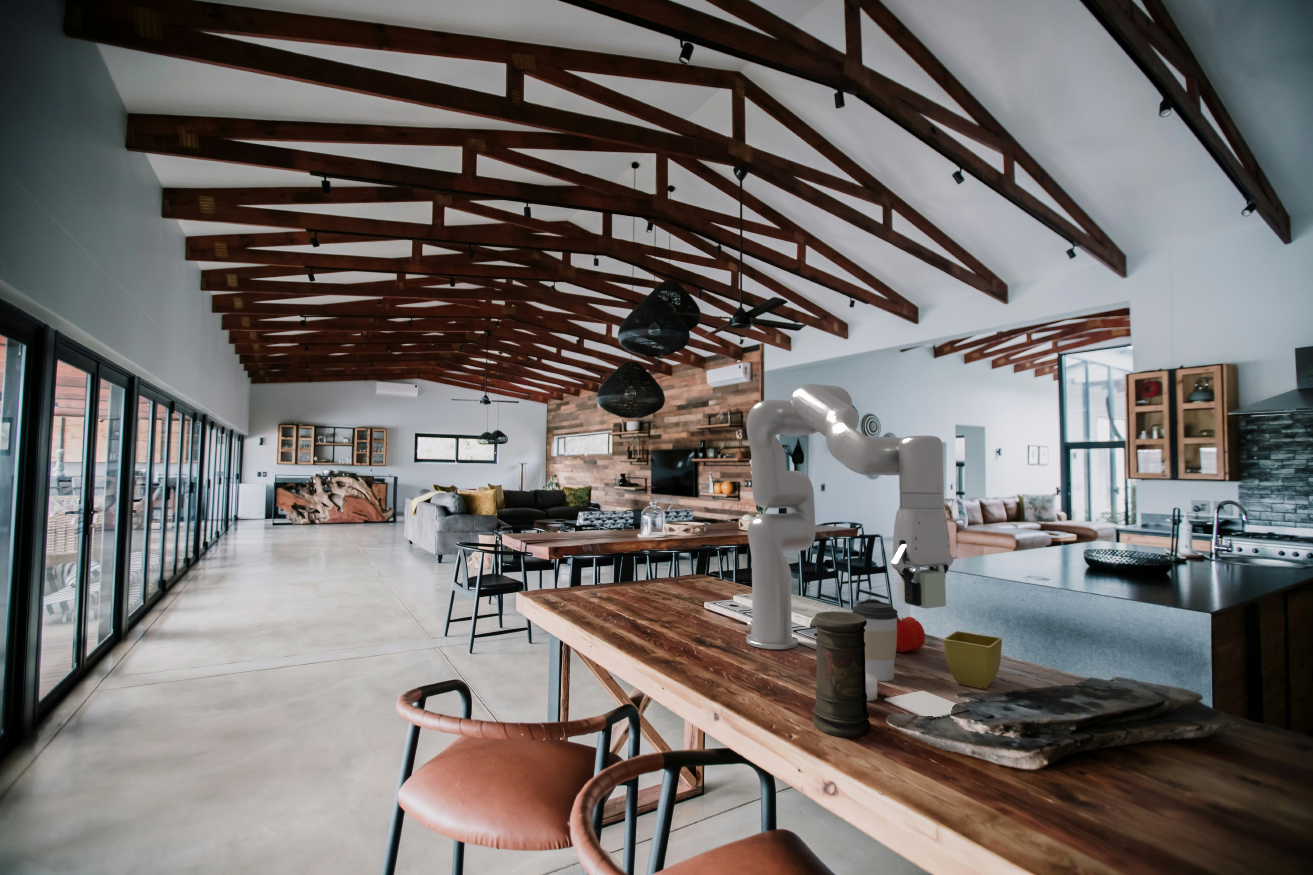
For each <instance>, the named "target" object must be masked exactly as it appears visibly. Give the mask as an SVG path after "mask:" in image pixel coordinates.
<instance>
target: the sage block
mask: <svg viewBox="0 0 1313 875" xmlns="http://www.w3.org/2000/svg"><path fill="white" fill-rule="evenodd" d="M910 571H911V573H912V571H913V569H910ZM945 576H946V574H945V572H940V571H934V570H927V568H920V573H919V578H918V582H917V583H921V605H920V606H916V605H912V604H908V603H905V590H904V581H903V582H902V584H903V585H902V587H903V588H902V590H903V604H905V605H908V606H909V605H910V606H914V607H918V608H923V609H935V608H942V607H946V606H947V600H946V599H947V597H946V594H947V593H946V592H947V591H946V578H945Z"/></svg>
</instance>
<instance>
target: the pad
mask: <svg viewBox="0 0 1313 875" xmlns="http://www.w3.org/2000/svg"><path fill="white" fill-rule="evenodd" d="M884 701H885V702H888V703H891V704H892V705H894V706H896V707H899V708H901V709H904V710H906V711H908V712H911V713H913V714H915V715H917V716H919V717H921V716H933V717H940V718H944V717H948V715H949V716H951V715H950V714H951V710H952V707H953V706H954V705H955V704H957V703H956V702H954V701H951V700H949V699H946V698H944V697H941V696H938V695H936V694H933V693H931V692H929V691H926V690H919V691H915V692H910V693H904V694H899V695H896V696H891V697H885V698H884ZM943 716H944V717H943Z"/></svg>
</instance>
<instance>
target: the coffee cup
mask: <svg viewBox="0 0 1313 875" xmlns="http://www.w3.org/2000/svg"><path fill="white" fill-rule="evenodd" d="M851 613H854V614H858V615H861V616H863V617H865V618H866V621H867V624H866V626H865V627H864V628H865V632H864V642H865V644H866V646H865V672H866V673H869V674H872V675H874V676H876V677H877V682H888V681H889V682H890V681H892V680H894V678H895V677H894V676H895V662H896V657H897V651H896V644H897V628H896V627H897V618H899V615H898V610H897V609H896V608H894V607H893V604H891V603H888V602H884V601H883V602H882V601H881V600H879V599H876V598H875V599H874V598H868V599H865V600H863V601H858V602H857V603H856V606H852V612H851Z"/></svg>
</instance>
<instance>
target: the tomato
mask: <svg viewBox="0 0 1313 875" xmlns="http://www.w3.org/2000/svg"><path fill="white" fill-rule="evenodd" d="M896 628H897V644H896V652H899V653H905V652H906V653H907V652H909V651H911V652H914V651H918V650H919V649H921V648H922V647H923V645H924V643H925V640H926V634H925V633H926V632H925V629H924V627H923V624H921V623H920V622H919V621H918V620H917V619H916V618H914V617H912V616H907V617H901V619H900V618H899V617H898V618H897V627H896Z"/></svg>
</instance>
